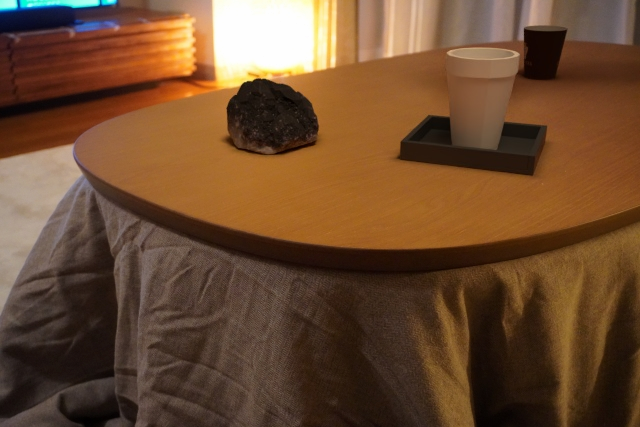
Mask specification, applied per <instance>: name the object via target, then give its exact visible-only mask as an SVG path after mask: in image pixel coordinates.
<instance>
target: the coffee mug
mask: <svg viewBox="0 0 640 427" xmlns="http://www.w3.org/2000/svg"><path fill="white" fill-rule="evenodd" d="M567 33H568V27H566V26H560V25H547V24H546V25H545V24H544V25H543V24H542V25H541V24H540V25H527V26H523V77H524V78H526V79H531V80H540V81H544V80H545V81H547V80H548V81H549V80H554V79H555V78H556V76H557V73H558V69H559V65H560V61H561V57H562V53H563V48H564V45H565V40H566V37H567Z"/></svg>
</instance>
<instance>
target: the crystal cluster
mask: <svg viewBox="0 0 640 427" xmlns="http://www.w3.org/2000/svg"><path fill="white" fill-rule="evenodd" d="M225 109H226V121H227V122H226V123H227V125H226V126H227V132H228V134H229V137H230V138H231V139H232V141H233V145H234V146H236V148H238V149H246V150H248V151H252V152H255V153H260V154H265V155H274V154H277V153H280V152H283V151H286V150H290V149H292V148H297V147H299V146H304V145H307V144H311V143H313V142H315V141H316V140H318V136H319V135H318V133H319V129H320V125H319V120H318V115H317V114H316V113H315V111H314V107H313V103H312V102H311V100H309V99H308V97H307V96H305V95H304V94H303V93H302V92H301V91H299V90H298V91H296V90H295V89H294V88H293V87H292V86H291V85H288V84H285V83H283V82H282V83H278V82H275V81H273V80H271V79H267V78H261V77H259V78H258V77H256V78H254V79H253V80H247V81H243V82H242V83H241V84H240V86H239V88H238V90H237V91H236V94H234V95H233V96H232V97H231V98H230V99H229V100H228V102H227V106H226V108H225Z"/></svg>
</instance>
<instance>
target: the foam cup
mask: <svg viewBox="0 0 640 427" xmlns="http://www.w3.org/2000/svg"><path fill="white" fill-rule="evenodd" d="M520 56H521V55H520V53H519V52H517V51H515V50H512V49H508V48H507V49H506V48H498V47H461V48H454V49H450V50H449V51H446V54H445V71H446V77H447V91H448V92H447V94H448V107H449V108H448V110H449V111H448V112H449V117H450V126H451V141H452V145H455V146H464V147H474V148H483V149H492V150H497V148H498V144H499V141H500V137H501V133H502V129H503V125H504V122H506V121H505V120H506V116H507V113H508V108H509V103H510V100H511V95H512V91H513V88H514V84H515V79H516V75H517V73H519V67H520V66H519V65H520V58H521V57H520Z"/></svg>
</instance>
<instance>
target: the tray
mask: <svg viewBox="0 0 640 427" xmlns="http://www.w3.org/2000/svg"><path fill="white" fill-rule="evenodd" d="M547 133H548V124H547V125H546V124H537V123H536V124H533V123H524V122H514V121H513V122H511V121H504V125H503V129H502V133H501V137H500V141H499V144H498V148H497V150H492V149H483V148H474V147H464V146H455V145H452V141H451V126H450V116H446V115H445V116H444V115H434V114H427V115H426V117H425V118H424V119H422V120H421V122H419V123H418V124H417V125H416V126H415V127H414V128H413V129H412V130H411V131H410V132H409V133H407V135H405V137H403V138H402V139H401V140H400V141H399V142H400V144H399V145H400V146H399V147H400V148H399V160H402V161H411V162H418V163H419V162H420V163H428V164H436V165H443V166H453V167H461V168H470V169H478V170H485V171H486V170H487V171H494V172H503V173H509V174H510V173H511V174H520V175H526V176H527V175H528V176H533V175H535V174H534V173H535V171H536V168H537V166H538V163H539V160H540V157H541V155H542V152H543V150H544V147H545V144H546V141H547V140H546V139H547Z"/></svg>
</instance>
